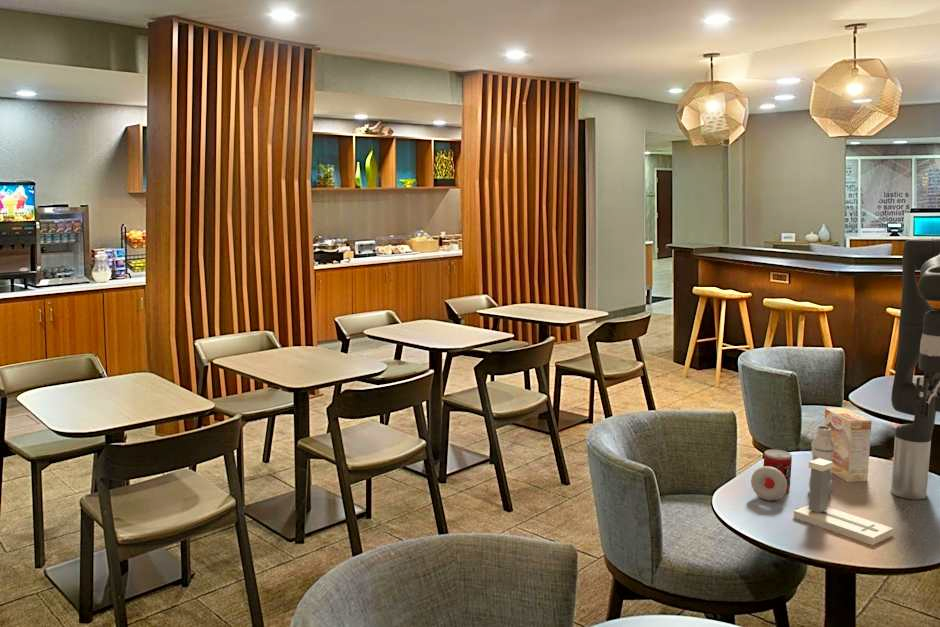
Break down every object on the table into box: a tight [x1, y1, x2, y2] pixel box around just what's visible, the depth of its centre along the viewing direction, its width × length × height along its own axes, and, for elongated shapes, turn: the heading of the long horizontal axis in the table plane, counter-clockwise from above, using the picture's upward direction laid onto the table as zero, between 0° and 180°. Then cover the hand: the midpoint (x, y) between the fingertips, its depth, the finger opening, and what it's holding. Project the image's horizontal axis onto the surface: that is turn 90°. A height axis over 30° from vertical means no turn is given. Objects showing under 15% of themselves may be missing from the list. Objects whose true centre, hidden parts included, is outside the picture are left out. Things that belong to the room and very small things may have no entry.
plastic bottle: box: [808, 425, 835, 495], centre depth 239 cm, size 6×7×20 cm
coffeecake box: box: [823, 407, 873, 483], centre depth 256 cm, size 15×7×20 cm, turn 6°
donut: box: [750, 465, 787, 501], centre depth 235 cm, size 10×4×10 cm, turn 57°
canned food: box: [763, 449, 793, 493], centre depth 244 cm, size 8×8×11 cm
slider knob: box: [808, 458, 833, 513], centre depth 221 cm, size 5×4×14 cm
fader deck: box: [793, 504, 894, 546], centre depth 216 cm, size 10×22×2 cm, turn 36°
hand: (931, 414), depth 207 cm, fingers open, 8 cm apart
